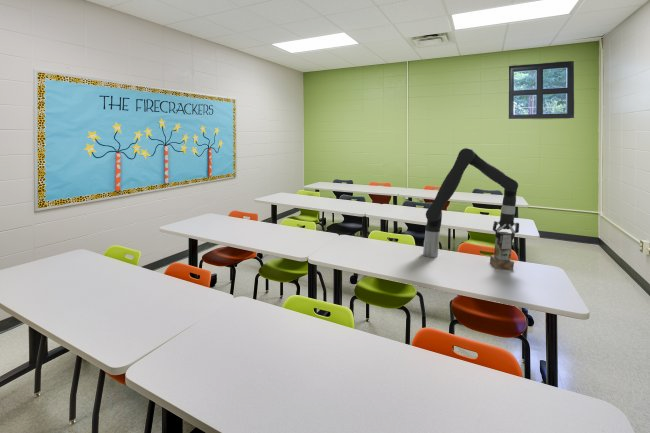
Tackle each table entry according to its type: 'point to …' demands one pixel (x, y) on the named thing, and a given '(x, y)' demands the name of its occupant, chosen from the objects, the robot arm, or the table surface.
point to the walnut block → (501, 263)
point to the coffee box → (503, 246)
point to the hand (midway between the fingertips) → (504, 238)
